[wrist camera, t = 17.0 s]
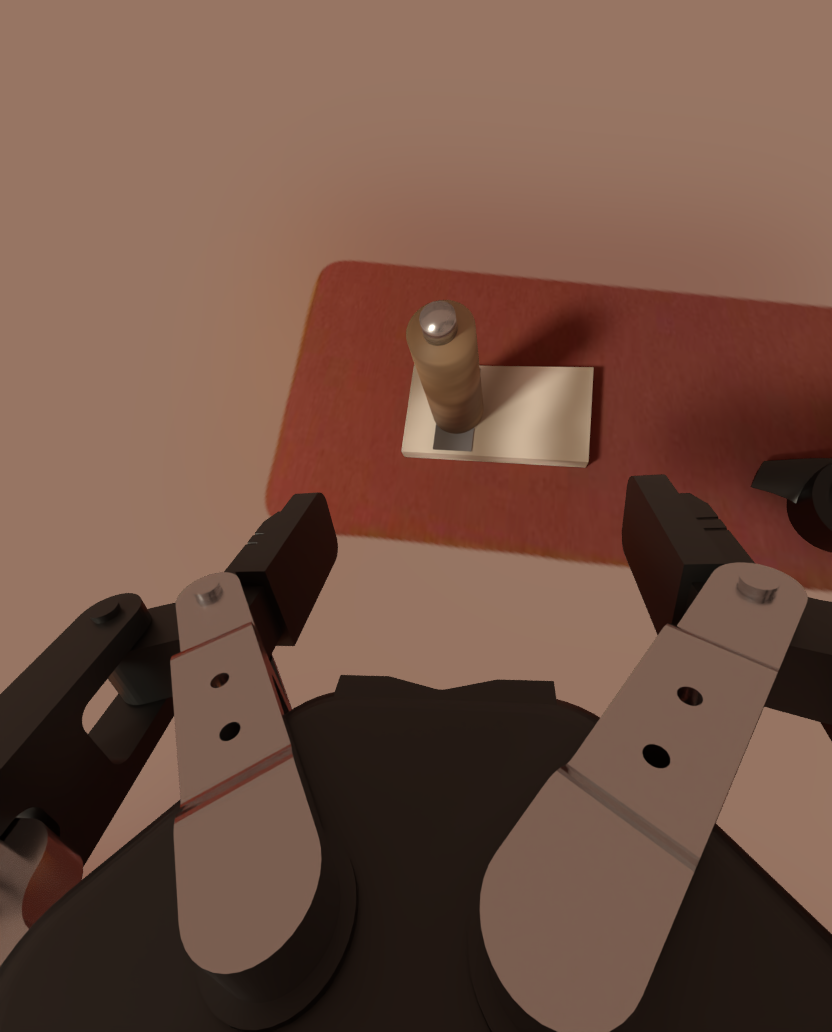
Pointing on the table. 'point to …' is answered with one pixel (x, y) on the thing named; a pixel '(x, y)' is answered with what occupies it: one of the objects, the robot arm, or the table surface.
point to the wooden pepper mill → (448, 363)
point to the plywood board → (512, 419)
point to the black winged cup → (802, 495)
